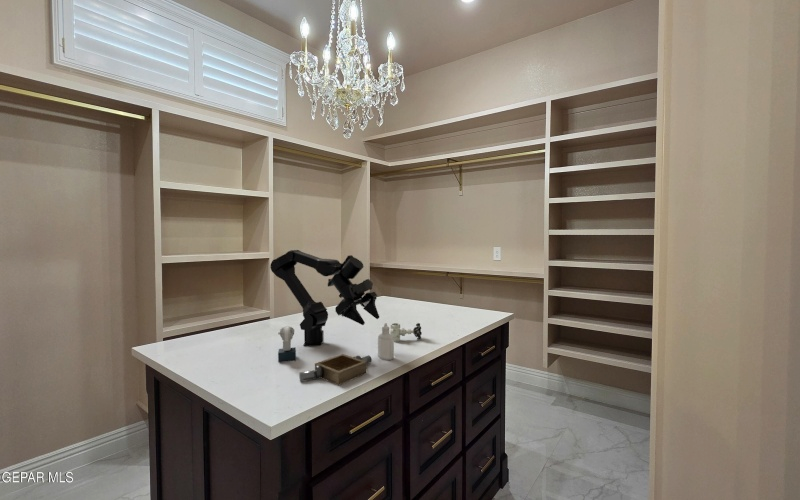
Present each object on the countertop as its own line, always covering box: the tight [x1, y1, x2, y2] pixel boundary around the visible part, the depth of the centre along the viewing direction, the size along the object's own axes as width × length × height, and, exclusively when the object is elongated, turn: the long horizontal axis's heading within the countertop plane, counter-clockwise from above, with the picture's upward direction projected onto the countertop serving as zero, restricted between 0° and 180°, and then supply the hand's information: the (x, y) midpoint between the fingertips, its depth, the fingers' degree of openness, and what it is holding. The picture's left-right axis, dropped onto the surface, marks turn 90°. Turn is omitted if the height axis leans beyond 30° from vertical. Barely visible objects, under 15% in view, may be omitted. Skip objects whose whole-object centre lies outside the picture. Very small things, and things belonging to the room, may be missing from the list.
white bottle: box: [377, 322, 395, 361], centre depth 119 cm, size 4×6×12 cm
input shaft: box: [353, 354, 373, 365], centre depth 112 cm, size 6×4×4 cm, turn 140°
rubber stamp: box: [277, 325, 297, 363], centre depth 118 cm, size 6×8×11 cm
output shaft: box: [298, 365, 323, 382], centre depth 102 cm, size 6×4×4 cm, turn 114°
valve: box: [389, 322, 423, 343], centre depth 139 cm, size 7×7×12 cm
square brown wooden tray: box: [314, 353, 368, 386], centre depth 106 cm, size 11×11×4 cm
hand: (371, 321), depth 121 cm, fingers open, 9 cm apart
